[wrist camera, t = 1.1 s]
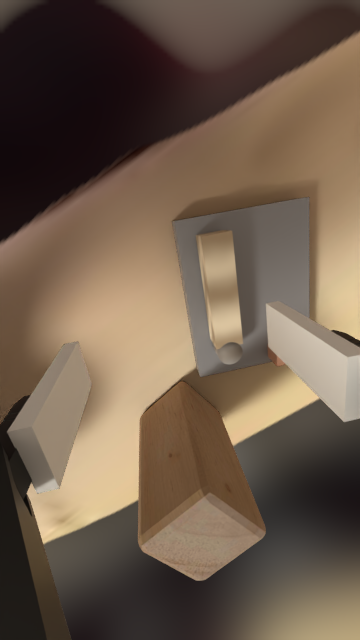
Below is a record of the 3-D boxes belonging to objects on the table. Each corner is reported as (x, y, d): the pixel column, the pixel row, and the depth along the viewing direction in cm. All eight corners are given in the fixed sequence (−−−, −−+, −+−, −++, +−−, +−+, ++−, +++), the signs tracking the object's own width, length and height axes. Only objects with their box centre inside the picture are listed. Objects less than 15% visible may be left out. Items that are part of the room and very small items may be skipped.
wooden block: (181, 376, 44) (211, 491, 25) (221, 411, 47) (273, 536, 28) (137, 415, 45) (133, 552, 26) (178, 446, 48) (200, 588, 30)
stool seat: (196, 367, 43) (204, 388, 38) (171, 221, 36) (177, 220, 30) (298, 345, 44) (321, 362, 39) (296, 198, 37) (324, 194, 31)
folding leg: (236, 349, 39) (244, 361, 36) (212, 354, 39) (219, 366, 36) (223, 229, 34) (232, 230, 30) (195, 235, 33) (201, 236, 30)
